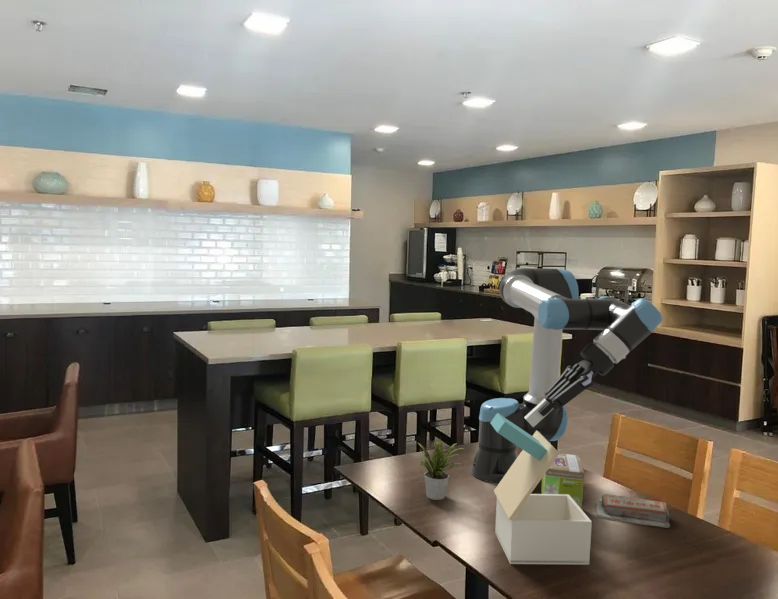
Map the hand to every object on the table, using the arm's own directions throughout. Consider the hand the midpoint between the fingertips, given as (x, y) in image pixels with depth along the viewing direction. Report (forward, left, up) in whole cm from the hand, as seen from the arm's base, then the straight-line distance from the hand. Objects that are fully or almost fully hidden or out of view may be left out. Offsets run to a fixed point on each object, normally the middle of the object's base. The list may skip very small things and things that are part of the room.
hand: (528, 422), depth 153 cm
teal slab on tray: (0, 0, -12) cm, 12 cm away
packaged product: (-39, +7, -31) cm, 50 cm away
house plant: (-7, -33, -30) cm, 46 cm away
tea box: (-24, -5, -30) cm, 39 cm away
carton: (-3, +3, -30) cm, 30 cm away
